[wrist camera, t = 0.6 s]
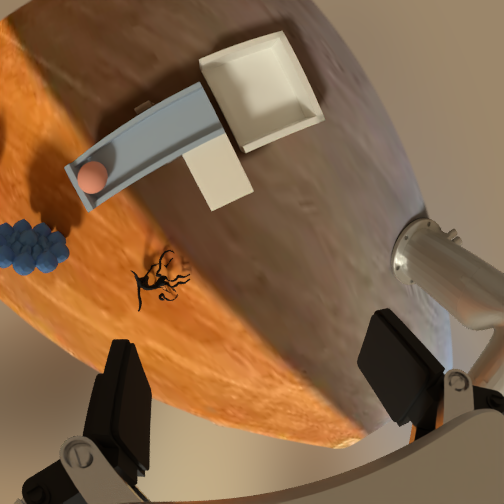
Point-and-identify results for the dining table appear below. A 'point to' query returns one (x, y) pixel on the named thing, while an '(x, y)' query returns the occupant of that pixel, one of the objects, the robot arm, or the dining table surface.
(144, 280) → the creature
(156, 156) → the lever
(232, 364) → the dining table surface
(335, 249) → the dining table surface
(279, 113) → the tray
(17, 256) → the grapes
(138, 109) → the pivot stand
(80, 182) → the ball
